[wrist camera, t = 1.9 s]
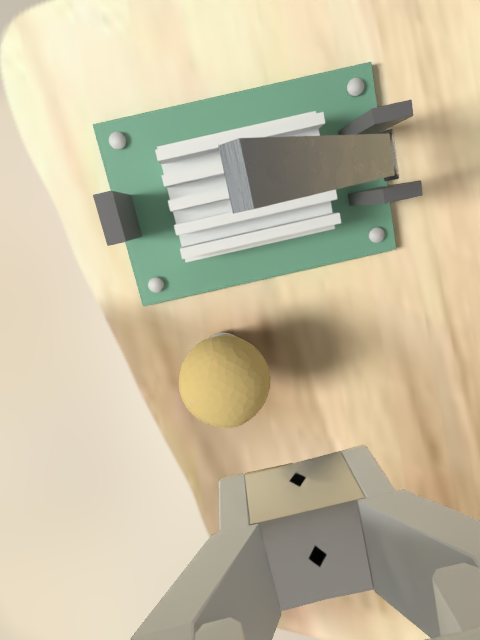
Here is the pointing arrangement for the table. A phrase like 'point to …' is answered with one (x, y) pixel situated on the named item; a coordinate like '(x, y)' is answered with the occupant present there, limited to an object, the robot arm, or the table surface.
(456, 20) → the table surface
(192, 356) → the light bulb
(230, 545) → the robot arm
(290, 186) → the strap
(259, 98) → the board
